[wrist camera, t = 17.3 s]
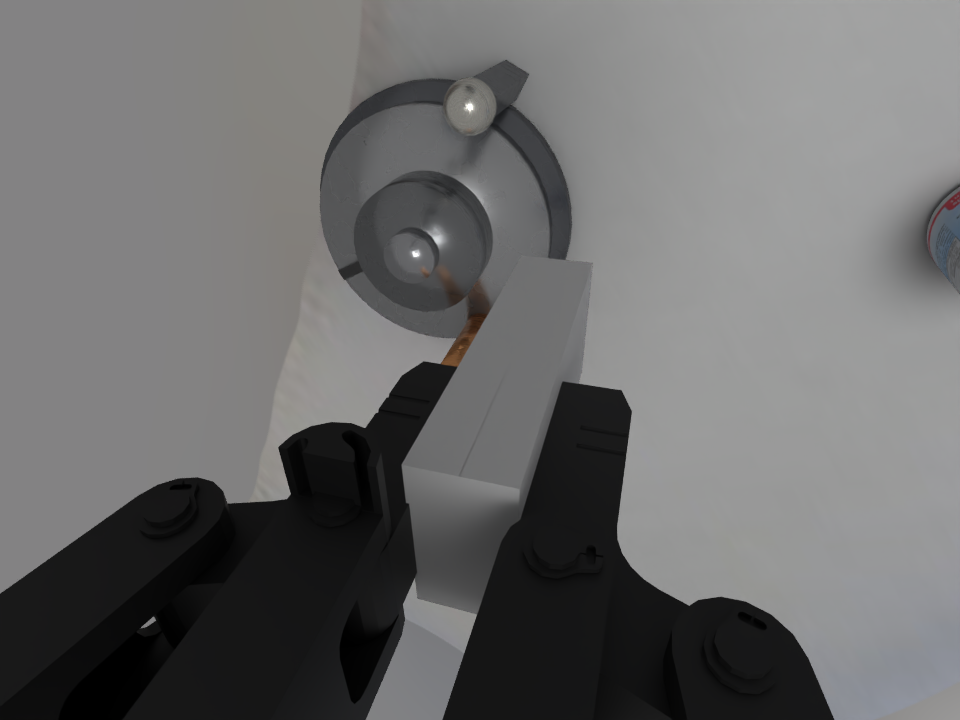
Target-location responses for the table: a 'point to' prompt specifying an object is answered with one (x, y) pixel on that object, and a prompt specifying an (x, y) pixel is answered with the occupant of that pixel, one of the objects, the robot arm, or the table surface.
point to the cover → (423, 240)
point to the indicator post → (482, 97)
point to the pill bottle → (946, 237)
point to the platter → (469, 159)
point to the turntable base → (506, 120)
